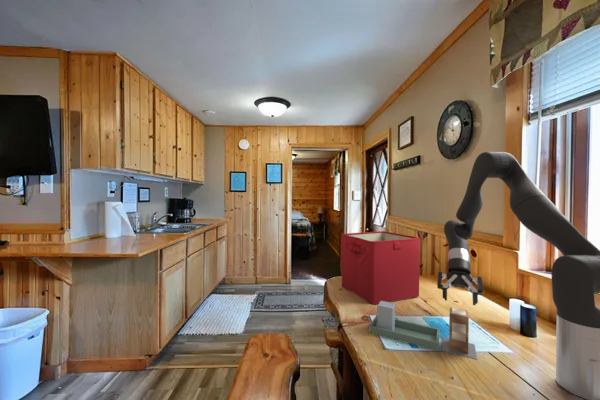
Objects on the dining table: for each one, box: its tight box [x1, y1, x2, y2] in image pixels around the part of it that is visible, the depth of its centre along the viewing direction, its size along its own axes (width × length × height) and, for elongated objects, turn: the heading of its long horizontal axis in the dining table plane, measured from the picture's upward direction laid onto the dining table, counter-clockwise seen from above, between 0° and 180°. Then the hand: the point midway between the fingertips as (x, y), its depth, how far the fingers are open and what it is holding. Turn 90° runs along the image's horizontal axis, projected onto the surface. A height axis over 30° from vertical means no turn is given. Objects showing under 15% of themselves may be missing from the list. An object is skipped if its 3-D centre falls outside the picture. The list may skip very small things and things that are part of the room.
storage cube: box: [341, 230, 420, 306], centre depth 133 cm, size 32×28×29 cm
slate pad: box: [441, 336, 478, 361], centre depth 83 cm, size 9×9×1 cm
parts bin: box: [368, 314, 441, 351], centre depth 91 cm, size 21×10×3 cm, turn 60°
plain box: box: [377, 301, 396, 331], centre depth 94 cm, size 5×5×9 cm
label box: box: [448, 307, 470, 354], centre depth 83 cm, size 5×6×11 cm
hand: (459, 301), depth 92 cm, fingers open, 8 cm apart
